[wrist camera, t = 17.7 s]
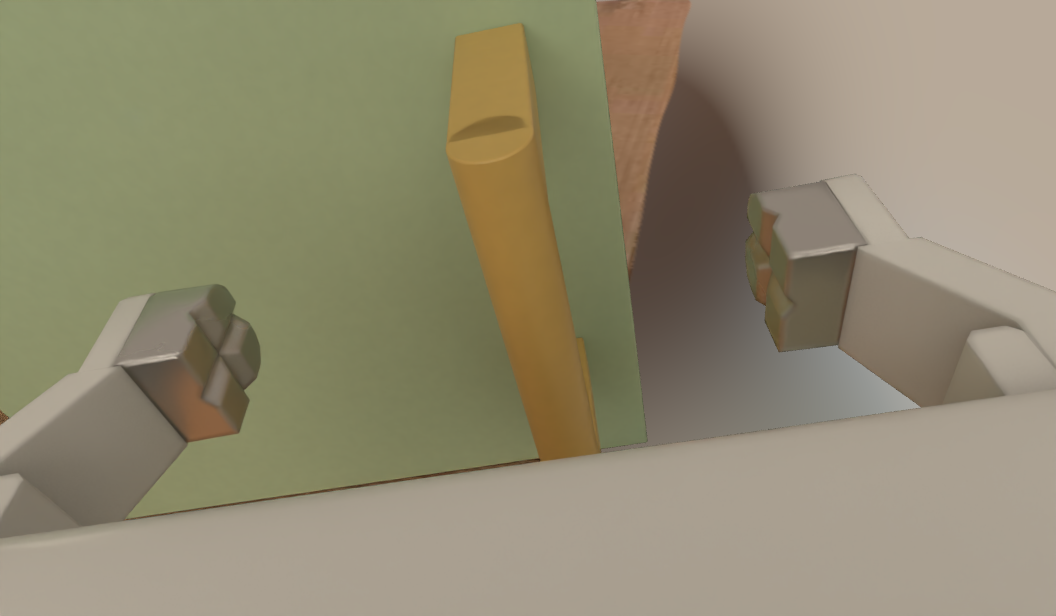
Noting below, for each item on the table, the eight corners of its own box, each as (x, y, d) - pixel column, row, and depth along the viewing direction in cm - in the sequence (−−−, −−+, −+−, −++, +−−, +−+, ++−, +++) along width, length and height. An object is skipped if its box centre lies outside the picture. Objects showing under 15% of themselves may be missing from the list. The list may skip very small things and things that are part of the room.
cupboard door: (678, 588, 23) (606, -239, 8) (61, 666, 25) (-891, 122, 10) (643, 422, 28) (560, -275, 13) (133, 499, 30) (-434, -27, 15)
